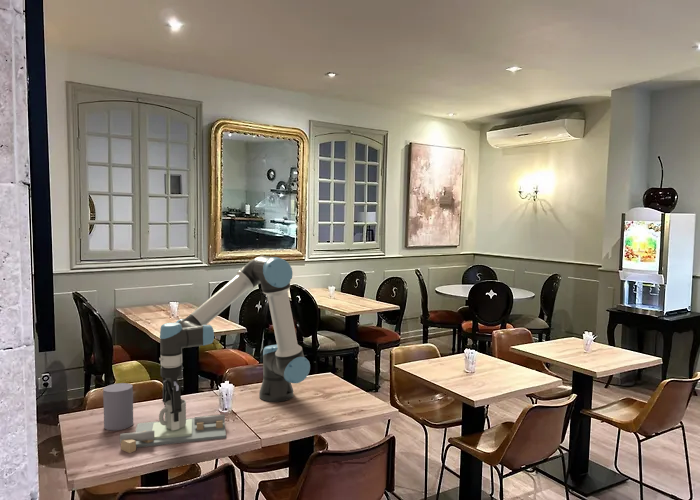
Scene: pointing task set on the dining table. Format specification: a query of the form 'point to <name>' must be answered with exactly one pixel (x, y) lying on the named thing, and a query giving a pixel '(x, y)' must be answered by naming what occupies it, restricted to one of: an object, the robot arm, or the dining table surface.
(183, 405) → the cup
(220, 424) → the shaft rig
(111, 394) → the container
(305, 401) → the dining table surface
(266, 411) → the dining table surface
